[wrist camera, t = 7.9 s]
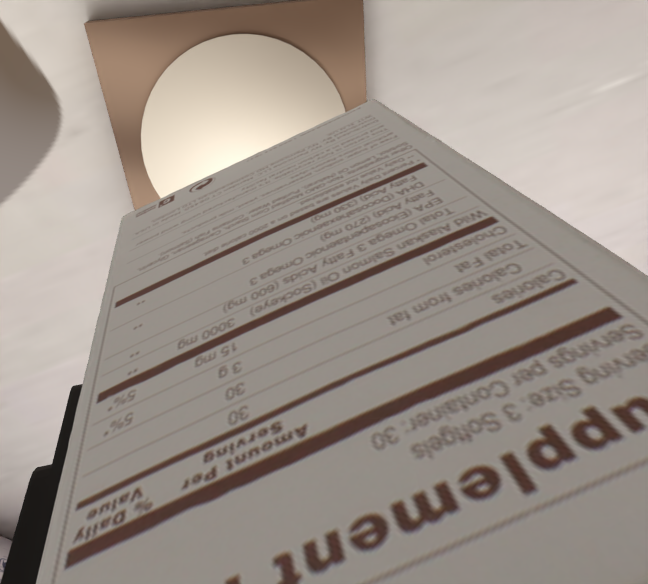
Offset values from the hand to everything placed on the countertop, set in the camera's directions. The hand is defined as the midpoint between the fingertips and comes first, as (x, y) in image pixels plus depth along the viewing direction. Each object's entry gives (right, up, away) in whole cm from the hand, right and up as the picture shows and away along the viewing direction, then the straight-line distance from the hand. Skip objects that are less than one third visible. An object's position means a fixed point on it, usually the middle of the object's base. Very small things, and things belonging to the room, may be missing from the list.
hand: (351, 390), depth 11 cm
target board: (-4, +10, +17) cm, 20 cm away
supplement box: (-1, +3, +5) cm, 6 cm away
